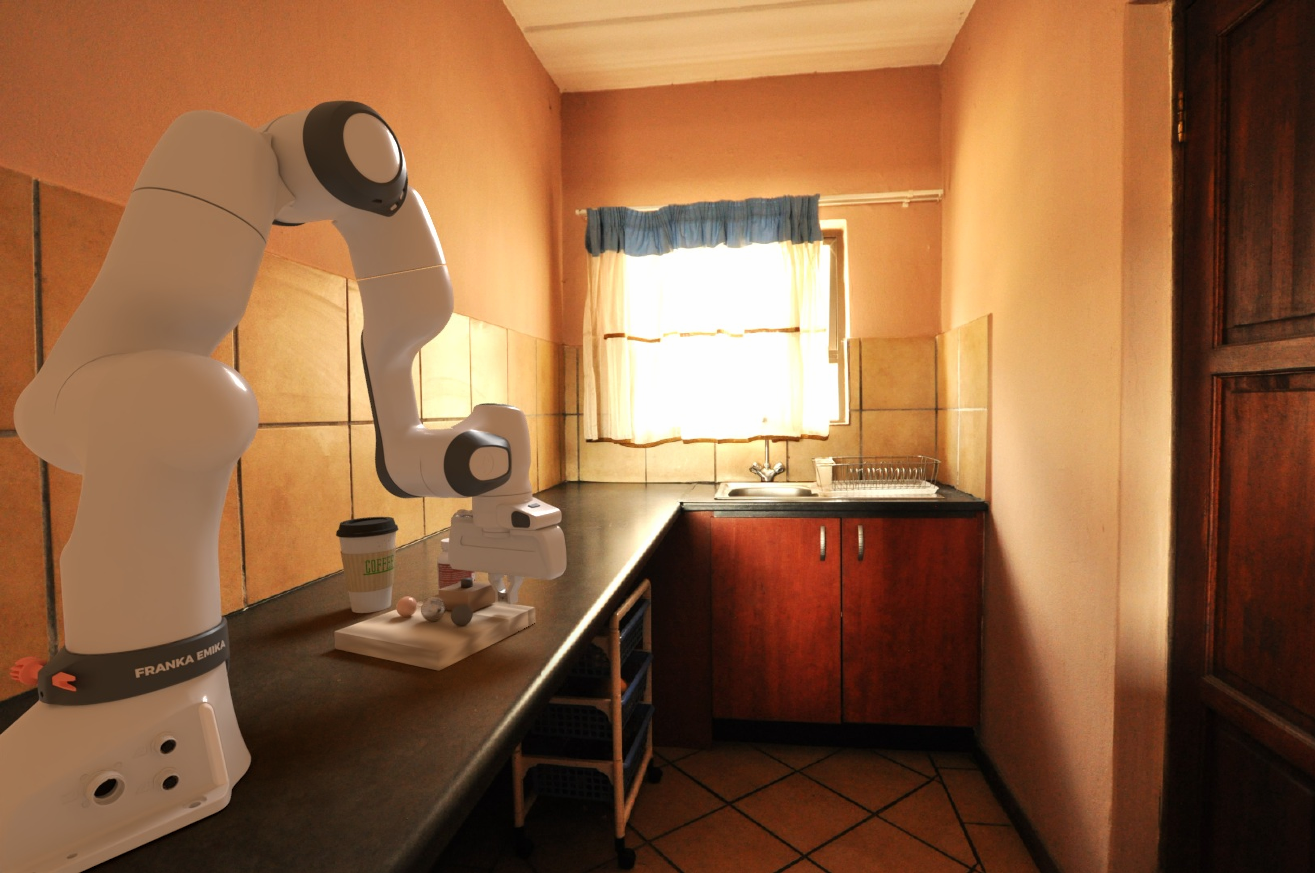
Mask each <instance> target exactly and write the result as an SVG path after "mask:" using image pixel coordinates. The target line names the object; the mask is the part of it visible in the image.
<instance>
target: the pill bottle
mask: <svg viewBox="0 0 1315 873" xmlns="http://www.w3.org/2000/svg"><path fill="white" fill-rule="evenodd" d="M448 546H449V537H447V538H443V539H441V540H440V549H441V550H442V552H440V553H439V554H438V556H437V557H436V564H437V565H436V567H437V569H436V570H437V588H438V589H437V591H438V590H439V589H442V588H444V587H447V586H450V585H453V584H456V583H459V582H461V579H462V578H467V577H470V578H473V581H476V572H475V571H466V570H457V569H452V567H451V566H450V564H449V562H448Z"/></svg>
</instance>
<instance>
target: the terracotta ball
mask: <svg viewBox="0 0 1315 873" xmlns="http://www.w3.org/2000/svg"><path fill="white" fill-rule="evenodd" d="M417 602H418V601H417V600H416V599H415V597H412V596H403V597H401V598H399V600H398V601H397V603H396V604H395V605H396V606H395V607H396V608H395V610H397V612H398V614H399V615H401V616H403V617H409V616H411V615H413V614H414V613H415V612H416V610H417Z"/></svg>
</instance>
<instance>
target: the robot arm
mask: <svg viewBox="0 0 1315 873" xmlns="http://www.w3.org/2000/svg"><path fill="white" fill-rule="evenodd" d="M406 164H407V163H406V158H405V156H404V153H403V149H402V146H401V144H400V141H399V139H398V138H397V135H396V134H395V132H394V131H393V129H392V128H391V126H390V125H389V124H388V122H387V121H386V120H385V119H384V118H383V117H382V115H380V114H379V113H378V111H376V110H375V109H373V108H372V107H371V106H369V105H367V104H365V103H362V102H360V101H354V100H329V101H325V102H321V103H318V104H317V105H315V106H314V107H311V108H306V109H303V110H299V111H295V112H292V113H287V114H283V115H281V116H278V117H276V118H274V119H272V120H270V121H267V122H266V123H264V124H262V125H260V126H258V127H257V128H253V127H252V126H251V125H249V124H248V123H247V122H244V121H242V120H240V119H238V118H237V117H234V116H231V115H229V114H227V113H224V112H219V111H215V110H210V109H208V110H207V109H197V110H191V111H187V112H184V113H182V114H180V115H179V116H177V117H176V118H175V119H174V120H173V121H172V122H171V123H170V124H169V126H168V128H167V129H166V130H165V131H164V133H162V135H161V137H160V138H159V139H158V141H157V142H156V144H155V146H154V147H153V148H152V150H151V152H150V154H149V156H148V157H147V159H146V161H145V162H144V164H143V166H142V168H141V170H140V172H139V174H138V176H137V177H136V181H135V183H134V186H133V188H132V190H131V192H130V195H129V197H128V200H127V202H126V205H125V208H124V211H123V213H122V216H121V218H120V221H119V224H118V225H117V229H116V230H115V231H116V232H115V233H114V235H113V238H112V242H110V243H111V244H110V246H109V249H108V250H107V254H106V256H105V259H104V261H103V263H102V265H101V268H100V270H99V272H98V274H97V276H96V277H95V280H94V282H93V283H92V285H91V286H90V288H89V290H88V292H87V293H86V294H85V297H84V298H83V299H82V301H81V303H80V304H79V305H78V307H77V308H76V310H75V311H74V313H73V314H72V316H71V318H70V319H69V320H68V322H67V324H66V325H65V327H64V328H63V330H62V332H61V333H60V335H59V337H58V339H57V340H56V342H55V343H54V345H53V346H52V349H51V350H50V352H49V353H48V355H47V358H45V361H44V363H43V364H42V366H41V368H40V370H39V371H38V373H36V375H35V377H34V378H33V379H32V380H31V381H30V382H29V384H27V386H25V388H24V389H23V390H22V392H21V393H20V395H19V396H18V398H17V399H16V401H15V402H16V403H15V405H14V408H13V424H14V427H15V431H16V433H17V436H18V437H19V439H20V441H21V442H22V443H23V444H24V445H25V447H26V448H27V449H29V450H30V451H31V452H32V453H33V454H34V455H36V456H37V457H39V458H40V459H42V461H45V462H47V463H48V464H50V465H51V466H53V467H56V468H58V469H59V470H63V471H65V472H67V473H72V474H74V475H75V474H76V475H80V476H82V480H81V488H80V494H79V500H78V505H77V511H76V515H75V519H74V524H73V527H72V531H71V534H70V537H69V539H68V541H67V542H66V544H65V545H64V547H63V548H62V550H61V552H60V556H59V571H60V572H59V573H60V587H61V601H62V615H63V628H64V629H63V630H64V642H65V644H64V645H63V646H62V647H61V648H60V649H59V650H58V652H57V653H56V654H55V655H54V656H52V657H51V659H49V661H46V660H44V659H40V658H38V657H35V656H26V657H22V658H20V659H18V660H17V661H16V662H14V666H11V667H10V670H11V671H10V672H9V675H10V676H11V677H10V678H11V679H12V680H13V681H15V682H17V683H22V685H26V686H33V685H37V693H38V701H37V702H36V703H34V704H33V705H32V706H31V707H30V708H29V709H28V710H27V711H25V712H24V713H23V714H22V715H21V716H20V717H19V718H18V719H16V720H15V721H14V722H13V723H12V724H11V725H10V726H8V728H6V729H5V730H4V731H3V732H2V733H1V734H0V873H81V872H83V871H86V870H88V869H90V868H92V867H94V866H97V865H99V864H101V863H105V862H106V861H109V860H110V859H113V858H115V857H118V856H120V855H123V854H125V853H127V852H129V851H131V850H134V849H136V848H138V847H140V846H143V845H145V844H148V843H149V842H152V841H154V840H157V839H159V838H161V837H163V836H166V835H168V834H170V833H172V832H175V831H177V830H179V829H182V828H184V827H186V826H188V825H190V824H194V823H195V822H197V821H200V820H202V819H204V818H207V817H209V816H211V815H213V814H216V813H218V812H219V811H221V810H223V809H224V808H225V807H226V806H228V804H229V803H230V801H231V798H232V797H231V796H232V793H233V792H232V789H233V788H234V786H235V785H236V784H237V783H238V782H239V781H240V779H241V778H242V777H243V776H244V775H245V774H246V772H248V769H249V767H250V765H251V762H252V755H251V753H250V751H249V749H248V748H247V745H246V743H245V741H244V738H243V735H242V733H241V730H240V728H239V724H238V719H237V717H236V712H235V708H234V705H233V704H234V703H233V700H232V696H231V689H230V685H229V678H228V676H229V675H228V672H229V670H230V666H231V665H230V662H231V656H230V655H231V653H230V639H229V638H230V637H229V627H228V620H227V617H225V616H223V615H222V602H221V585H220V583H221V582H220V581H221V580H220V560H219V546H220V544H219V541H220V538H219V536H220V529H221V521H222V516H223V513H224V512H223V511H224V508H225V503H226V498H227V495H228V490H229V487H230V483H231V479H232V475H233V473H234V470H235V466H236V465H237V463H238V461H239V460H240V459H241V457H243V455H244V454H245V452H247V450H248V449H249V448H250V447H251V445H252V443H253V441H254V439H255V438H256V436H257V431H258V429H259V423H260V409H259V402H258V400H257V396H256V394H255V392H254V390H253V387H252V386H251V385H250V383H249V382H248V381H247V380H246V378H245V377H244V376H243V375H242V374H241V373H240V372H238V371H237V370H236V369H234V368H233V367H232V366H230V365H229V364H227V363H225V362H222V361H220V360H217V359H215V358H212V357H211V356H212V355H213V354H214V352H215V351H216V349H217V348H218V347H219V346H220V344H221V343H222V341H223V340H225V338H226V337H227V336H228V335H229V334H230V333H231V332H232V331H233V330H235V329H236V328H237V327H238V326H239V323H241V321H242V320H243V318H244V316H245V314H246V311H247V308H248V304H249V302H250V298H251V295H252V292H253V289H254V287H255V282H256V280H257V277H258V273H259V270H260V267H261V263H262V261H263V259H264V258H263V257H264V255H265V251H266V248H267V244H268V241H269V236H270V233H271V230H272V226H277V227H298V226H302V225H305V224H306V223H315V222H320V221H331V224H332V226H334V227H335V228H336V230H337V232H339V233H340V235H341V236H342V237H343V239H344V241H345V243H346V245H347V248H348V252H349V256H350V261H351V266H352V269H353V273H354V276H355V279H356V280H357V281H356V283H357V287H358V291H359V294H360V299H361V307H362V314H363V315H362V316H363V326H362V327H363V328H362V331H361V332H360V333H361V334H360V354H361V361H362V366H363V373H364V378H365V379H364V380H365V383H366V384H365V385H366V389H367V394H368V398H369V400H368V401H369V404H370V405H369V406H370V410H371V414H372V415H371V416H372V420H373V425H374V434H375V435H374V436H375V448H374V449H375V452H374V465H375V472H376V475H377V478H378V480H379V481H380V484H381V485H382V487H383V488H384V489H385V490H386V491H387V492H389V493H390V494H391V495H393V496H395V497H397V498H401V499H418V498H440V499H449V498H452V499H469V498H472V499H471V502H472V503H471V504H472V509H466V508H465V509H464V508H463V509H458V510H457V511H456V512H455V513H454V514H453V515H452V516H451V517H450V531H449V535H448V536H449V537H448V538H449V546H448V562H449V564H450V566H451V567H452V569H457V570H466V571H475V573H486V574H487V577H488V578H487V580H488V583H490V584H491V586H492V588H493V590H494V591H495V601H496V602H498V603H505V604H516V603H518V601H519V590H520V587H521V586H522V584H523V581H524V580H525V579H524V578H529V579H537V580H547V581H552V580H554V579H557V578H559V577H561V576H562V575H563V574H564V573H565V571H566V569H567V548H566V540H565V534H564V531H563V530H562V528H561V527H560V526H559V525H558V524H559V523H561V521H562V520H563V519H562V515H563V513H562V511H561V510H560V509H559V507H558V508H557V507H556V506H553V505H551V504H549V503H546V502H544V501H542V500H540V499H539V498H536V497H534V496H533V487H532V483H531V480H530V469H531V465H532V464H531V463H532V454H531V453H532V452H531V438H530V432H529V431H530V430H529V425H528V421H527V418H526V416H525V413H524V411H523V410H522V409H520V408H519V407H517V406H514V405H511V404H510V405H509V404H506V403H505V404H504V403H495V402H493V403H492V402H491V403H489V402H488V403H487V402H486V403H479V404H476V405H474V406H473V409H472V412H471V413H470V414H469V415H468V416H467V417H466V418H465V419H463V420H462V421H460V422H458V423H456V424H455V425H452V426H450V428H441V429H440V428H439V429H430V428H429V429H428V428H427V427H426V426H425V425H424V424H423V422H422V421H421V419H420V416H419V411H418V405H417V404H418V403H417V400H416V399H417V398H416V393H415V387H414V381H413V380H414V379H413V373H412V372H413V371H412V370H413V363H414V360H415V357H416V356H417V354H418V353H419V352H420V350H421V349H422V348H424V347H425V346H426V345H427V344H428V343H430V342H431V341H432V340H434V339H435V338H436V337H437V336H438V335H439V334H440V333H441V332H443V330H444V329H445V327H447V325H448V323H449V321H450V320H451V318H452V315H453V312H454V310H455V309H454V308H455V306H454V305H455V304H454V301H455V300H454V297H455V296H454V288H453V283H452V280H451V277H450V276H451V275H450V273H449V269H448V266H447V261H446V259H445V254H444V251H443V247H442V245H441V241H440V239H439V236H438V233H437V231H436V228H435V224H433V220H432V219H431V216H430V213H429V212H428V209H427V207H426V205H425V203H424V201H423V199H422V197H421V195H420V193H419V192H417V190H416V189H415V188H414V187H413V186H411V185H409V177H408V175H409V174H408V170H407V165H406ZM505 576H506V579H507V581H506V582H507V583H509V585H508V588H506V585H505V583H504V580H503V579H504V577H505Z"/></svg>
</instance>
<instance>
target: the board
mask: <svg viewBox="0 0 1315 873" xmlns="http://www.w3.org/2000/svg"><path fill="white" fill-rule="evenodd" d="M431 597H438V598H439V593H438V594H435V595H433V596H431ZM431 597H428V598H431ZM428 598H425V599H424V598H423V599H422V600H419V601H416V602H417V610H416V612H415V613H414V614H413V615H411V616H409V617H403V616H401V615H399V614H398V612H397V610H396V609H394V610H391V611H388V612H386V613H381V614H379V615H376V616H374V617H370V618H368V619H366V620H363V621H360V622H357V623H354V624H352V625H348V626H346V627H343V628H340V629H337V630H335V631H334V648H335V649H336V650H340V651H345V652H348V653H349V652H350V653H354V654H358V655H363V656H368V657H371V658H372V657H374V658H377V659H382V660H387V661H392V662H396V663H401V664H406V665H411V666H415V667H420V668H425V669H429V670H435V671H441V670H444V669H446V668H448V667H449V666H451V665H455V664H456V663H458V662H459V661H462V660H464V659H466V658H468V657H469V656H472V655H474V654H476V653H478V652H480V651H481V650H484V649H486V648H489V647H490V646H492V645H494V644H496V643H498V642H501V641H502V640H504V639H506V638H509V637H510V636H512V635H514V634H516V633H518V631H519V632H520V631H522V630H524V628H525V629H527V628H528V626H529V627H530V626H532V624H533V625H535V624H536V622H537V620H536V607H535V606H529V605H523V604H516V603H514V604H505V603H498V602H495V603H492V604H490V605H488V606H485V607H483V608H480V609H478V610H475V611H473V612H472V613H473V616H472V619H471V621H470V622H469V623H468V624H467V625H464V626H458V625H455V624H454V623H453V622H452V620H451V612H452V611H451V610H446V612H445V614H444V616H443V617H442V618H441V619H439V620H437V621H428V620H426V619H425V618H424V617H423V616H422V614H421V607H422V604H423V603H424V601H425V600H427V599H428ZM534 623H535V624H534ZM526 627H527V628H526Z"/></svg>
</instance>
